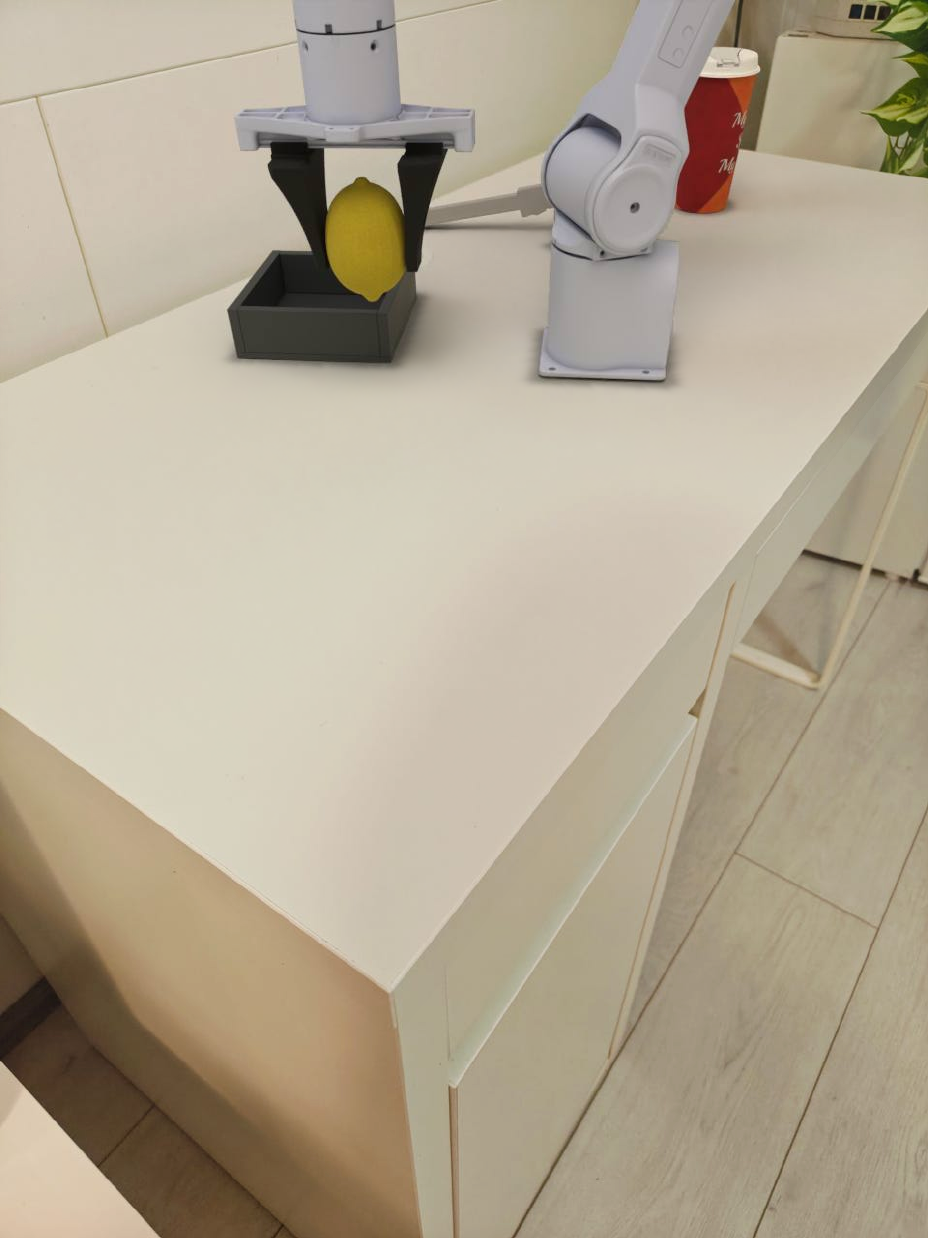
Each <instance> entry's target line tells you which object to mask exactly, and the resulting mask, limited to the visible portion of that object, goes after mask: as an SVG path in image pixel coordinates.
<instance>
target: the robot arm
mask: <svg viewBox="0 0 928 1238" xmlns="http://www.w3.org/2000/svg"><path fill="white" fill-rule="evenodd" d="M735 2H736V0H639V2H638V5H637V7H636V9H635V12H634V14H633V17H632V18H631V21H630V23H629V26H628V28H627V31H626V33H625V36H624V38H623V39H622V43H621V45H620V47H619V50H618V52H617V54H616V56H615V59H614V61H613V64H612V66H611V67H610V71H609V73H608V74H606V76H604V77H603V78H602V79H601V80H599V82H597V83H596V84H595V85H594V86H593V87H591V88H590V89H589V90H588V91H587V92H586V93H585V94H584V95H583V96H582V97H581V98H580V101H579V103H578V106H577V108H576V111H575V112H574V115H573V117H572V118H571V120H570V121H569V123H568V124H567V125H566V126H565V127H564V128H563V130H561V131H560V132H559V133H558V134H557V136H555V137H554V139H553V140H552V141H551V143H550V144H549V146H548V148H547V149H546V151H545V154H544V156H543V159H542V164H541V166H540V168H541V169H540V184H541V185H542V190H543V192H544V195H545V197H546V199H547V201H548V202H549V204H550V205H551V206H552V207H553V208H552V209H553V210H554V209H555V223H554V226H553V225H552V228H551V241H550V257H549V258H550V261H549V262H550V263H549V284H548V309H547V326H546V327H544V328H543V335H542V341H541V349H540V350H541V351H540V358H539V367H538V374H539V375H540V376H542V377H552V378H555V377H556V378H579V379H580V378H581V379H584V378H585V379H608V380H609V379H613V380H636V381H638V380H640V381H663V380H665V379H666V376H667V370H666V369H667V362H668V355H669V348H670V344H671V342H672V339H673V332H674V314H675V306H676V301H677V300H676V299H677V291H678V282H679V271H680V269H679V268H680V245H679V242H677V241H675V240H665V239H660V238H659V237H660V236H661V235H662V234H663V232H664V231H665V229H666V228H667V226H668V224H669V222H670V221H671V219H672V216H673V214H674V210H675V208H676V207H675V202H676V190H677V182H678V178H679V174H680V172H681V169H682V167H683V165H684V163H685V161H686V159H687V157H688V154H689V142H688V135H687V129H686V123H685V116H684V108H685V105H686V103H687V101H688V99H689V97H690V95H691V93H692V91H693V89H694V86H695V84H696V82H697V80H698V78H699V76H700V74H701V72H702V70H703V67H704V65H705V63H706V61H707V59H708V57H709V55H710V53H711V50H712V48H713V47H715V45H716V42H717V40H718V38H719V36H720V34H721V31H722V30H723V28H724V25H725V23H726V21H727V19H728V17H729V14H730V12H731V10H732V8H733V6H734V4H735ZM291 3H292V10H293V18H294V25H295V33H296V40H297V41H296V42H297V47H298V48H297V49H298V56H299V63H300V71H301V79H302V87H303V92H304V93H303V94H304V95H303V96H304V102H305V104H300V105H291V106H289V105H288V106H277V107H265V108H264V107H263V108H262V107H261V108H243V109H242V110H241V111H240V112H238V113H237V114H236V115H234V124H235V129H236V135H237V141H238V145H239V150H240V151H241V152H256V151H258V150H259V149H270V161H269V162H268V163H267V170H268V173H269V176H270V178H271V180H272V181H273V183H274V184H275V185H276V187H277V188H278V190H279V191H280V192H281V193H282V195H283V197H285V200H286V201H287V203H288V204H289V206H290V208H291V209H292V211H293V213H294V215H295V216H296V218H297V221H298V223H299V225H300V227H301V229H302V231H303V234H304V236H305V238H306V240H307V242H308V245H309V247H310V251H312V253H313V256H314V259H315V262H316V266H317V269H318V270H325V271H327V270H328V269H329V267H330V263H329V260H328V256H327V251H326V243H325V225H326V217H327V212H328V209H329V208H328V201H327V187H326V186H327V185H326V167H325V162H326V161H325V149H377V150H378V149H379V150H381V149H382V150H384V149H387V150H389V149H391V150H392V149H396V150H397V149H399V150H400V149H401V150H403V149H404V150H405V152H404V154H402V155H401V157H400V158H399V160H398V162H397V164H396V168H397V175H398V180H399V187H400V195H401V202H402V212H403V213H404V220H405V261H406V269H407V272H415V273H418V272H419V269H420V267H421V264H422V258H423V257H422V255H423V242H424V234H425V229H426V228H425V227H426V226H425V224H426V219H427V214H428V210H429V208H430V206H431V202H432V198H433V196H434V195H433V194H434V191H435V189H436V185H437V182H438V179H439V176H440V172H441V170H442V167H443V164H444V161H445V159H446V156H447V153H448V151H449V150H454V152H456V153H472V152H473V150H474V149H475V145H476V110H475V109H474V108H455V107H454V108H453V107H440V106H430V105H421V104H409V103H402V101H401V86H400V67H399V54H398V40H397V38H398V37H397V23H396V11H395V9H396V8H395V0H291Z"/></svg>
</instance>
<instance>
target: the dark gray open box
mask: <svg viewBox="0 0 928 1238" xmlns="http://www.w3.org/2000/svg"><path fill="white" fill-rule="evenodd" d="M417 295H418V294H417V280H416V272H407V269H405V272H404V274H403V276H402V277H401V279H400V280H399V282H398V283H397V284H396V285H395V286H394V287H393V288H392V289H390V290H389V291H387V292H384V293H383V294H382V295H381V296H380V297H379V299H378V300H377V301H374V302H371V301H368V300H367V299H366V298H365V297H364V296H363V295H362V294H358V293H355V292H353V291H351V290H349V289H348V288H346V287H345V286H344V285H343V284H342V283H341V282H340V281H339V279H338V278H337V277H336V275H335V274H334V272H333V270H332V268H331V266H330V267H329V269H328V270H327V271H325V270H318V269H317V266H316V262H315V259H314V256H313V253H312V251H311V250H279V249H272V250H271V251H270V253H269V254H268V256H267V257H266V258H265V260H264V261H263V262H262V263H261V265H260V266H259V268H258V269H256V271H255V272H254V274H253V275H252V277H251V278H250V279H249V280H248V282H247V283H246V285H245V286H244V287H243V288H242V290H241V291H240V292H239V293H238V295H237V296H236V298H235V299H234V300H233V301H232V303H231V304H230V305H229V307H228V308H227V310H226V311H227V312H226V313H227V317H228V321H229V326H230V329H231V334H232V339H233V345H234V349H235V354H236V358H237V359H238V358H239V359H261V360H289V361H291V360H292V361H293V360H294V361H317V362H318V361H321V362H346V363H347V362H352V363H375V364H376V363H378V364H380V363H381V364H382V363H383V364H391V363H392V362H393V360H394V356H395V354H396V351H397V349H398V347H399V344H400V341H401V339H402V337H403V334H404V331H405V329H406V326H407V324H408V321H409V319H410V316H411V314H412V311H413V309H414V306H415V304H416V301H417V298H418V297H417Z"/></svg>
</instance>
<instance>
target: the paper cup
mask: <svg viewBox="0 0 928 1238" xmlns="http://www.w3.org/2000/svg"><path fill="white" fill-rule="evenodd" d="M759 73H761V67H760V65H759V54H758V52H756V51H754V50H752V49H748V48H741V47H733V46H732V47H731V46H713V48H712V50H711V53H710V55H709V57H708V59H707V61H706V63H705V65H704V67H703V70H702V72H701V74H700V76H699V78H698V80H697V82H696V84H695V86H694V89H693V91H692V93H691V95H690V97H689V99H688V101H687V103H686V105H685V108H684V116H685V123H686V129H687V135H688V142H689V154H688V157H687V159H686V161H685V163H684V165H683V167H682V169H681V172H680V174H679V178H678V182H677V190H676V202H675V207H674V208H676V209H678V210H680V211H682V212H687V213H692V214H713V213H718V212H721V211H723V210H724V209H726V206H727V203H728V200H729V196H730V190H731V187H732V184H733V183H732V182H733V180H734V179H733V178H734V175H735V170H736V165H737V162H738V156H739V153H740V147H741V144H742V143H741V142H742V140H743V134H744V130H745V126H746V121H747V116H748V112H749V108H750V103H751V99H752V94H753V90H754V86H755V80H756V76H757V74H759Z"/></svg>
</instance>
